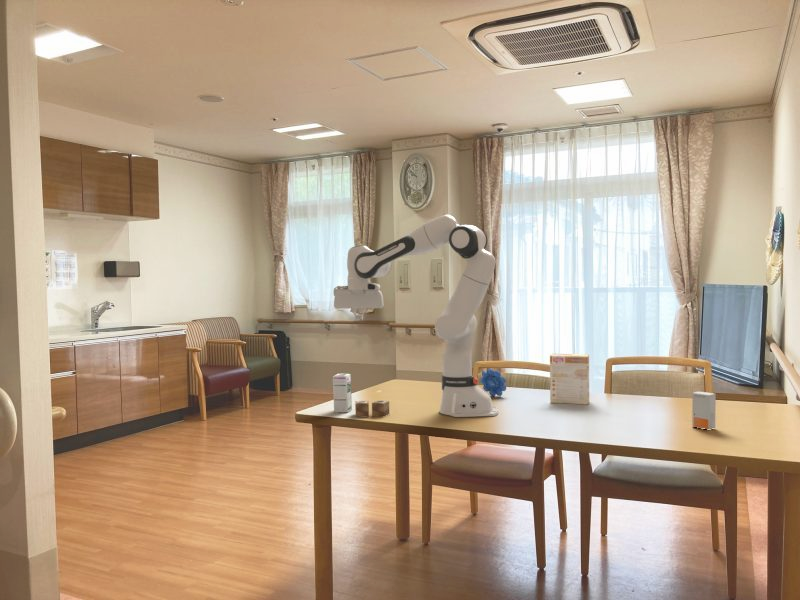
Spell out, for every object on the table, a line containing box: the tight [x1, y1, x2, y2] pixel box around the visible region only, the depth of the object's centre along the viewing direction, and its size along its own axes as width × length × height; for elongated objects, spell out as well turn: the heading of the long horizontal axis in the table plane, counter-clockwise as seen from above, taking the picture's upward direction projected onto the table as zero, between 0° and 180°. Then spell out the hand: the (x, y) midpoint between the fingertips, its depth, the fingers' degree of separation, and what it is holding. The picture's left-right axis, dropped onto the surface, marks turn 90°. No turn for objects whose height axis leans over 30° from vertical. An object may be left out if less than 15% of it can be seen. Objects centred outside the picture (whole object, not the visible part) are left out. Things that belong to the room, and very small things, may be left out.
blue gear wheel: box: [479, 368, 507, 397], centre depth 280 cm, size 12×7×12 cm, turn 64°
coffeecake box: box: [549, 353, 590, 405], centre depth 265 cm, size 15×7×20 cm, turn 69°
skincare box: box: [691, 391, 717, 429], centre depth 218 cm, size 6×4×12 cm
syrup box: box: [332, 372, 353, 413], centre depth 255 cm, size 6×6×14 cm
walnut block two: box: [371, 400, 390, 417], centre depth 247 cm, size 5×5×5 cm
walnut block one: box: [354, 400, 370, 417], centre depth 247 cm, size 5×5×5 cm
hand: (359, 319), depth 265 cm, fingers closed
